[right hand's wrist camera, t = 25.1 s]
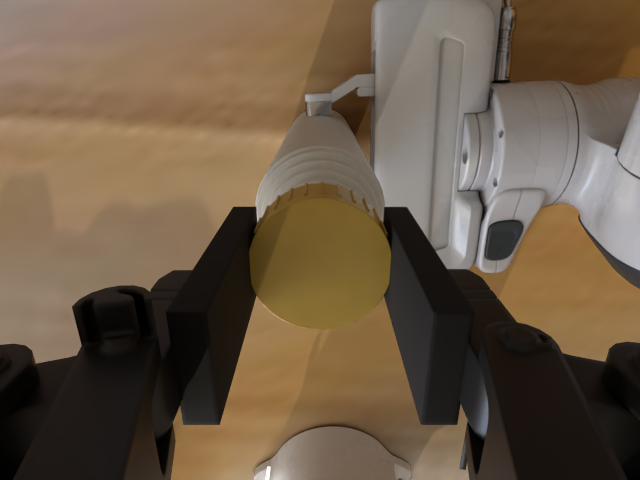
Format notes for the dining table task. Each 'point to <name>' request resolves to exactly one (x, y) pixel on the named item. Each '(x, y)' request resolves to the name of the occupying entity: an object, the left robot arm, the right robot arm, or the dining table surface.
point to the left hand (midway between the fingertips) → (307, 154)
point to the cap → (320, 257)
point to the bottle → (320, 162)
